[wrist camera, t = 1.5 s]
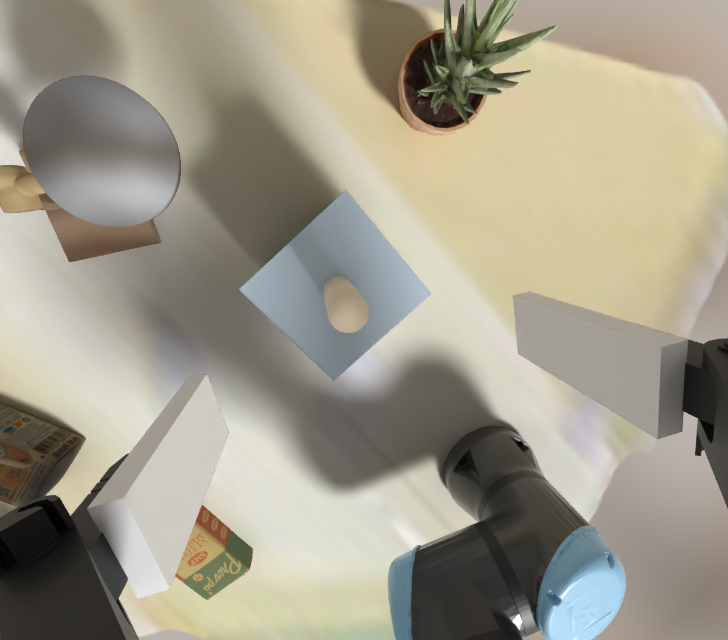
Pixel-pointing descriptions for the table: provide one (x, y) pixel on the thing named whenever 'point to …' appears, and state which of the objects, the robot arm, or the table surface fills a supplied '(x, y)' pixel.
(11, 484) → the beverage carton
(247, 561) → the carton
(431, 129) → the potted plant
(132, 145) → the balance
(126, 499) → the robot arm
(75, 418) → the table surface
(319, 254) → the cover
